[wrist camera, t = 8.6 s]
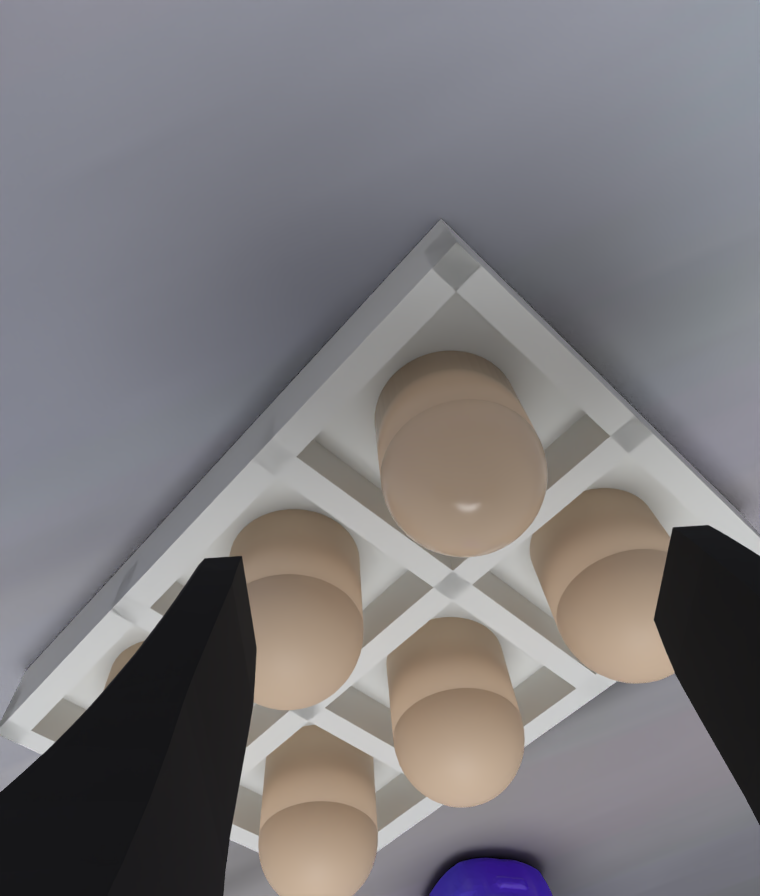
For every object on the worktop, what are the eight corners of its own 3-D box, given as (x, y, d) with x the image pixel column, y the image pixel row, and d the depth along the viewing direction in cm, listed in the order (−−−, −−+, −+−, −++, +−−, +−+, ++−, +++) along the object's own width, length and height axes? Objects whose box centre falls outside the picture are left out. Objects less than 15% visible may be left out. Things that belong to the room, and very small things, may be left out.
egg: (345, 425, 20) (347, 531, 15) (445, 320, 18) (479, 404, 14) (446, 502, 21) (475, 619, 17) (546, 410, 20) (605, 511, 15)
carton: (25, 671, 25) (-57, 837, 19) (441, 218, 18) (485, 284, 13) (330, 821, 30) (330, 985, 25) (740, 512, 23) (859, 645, 18)
